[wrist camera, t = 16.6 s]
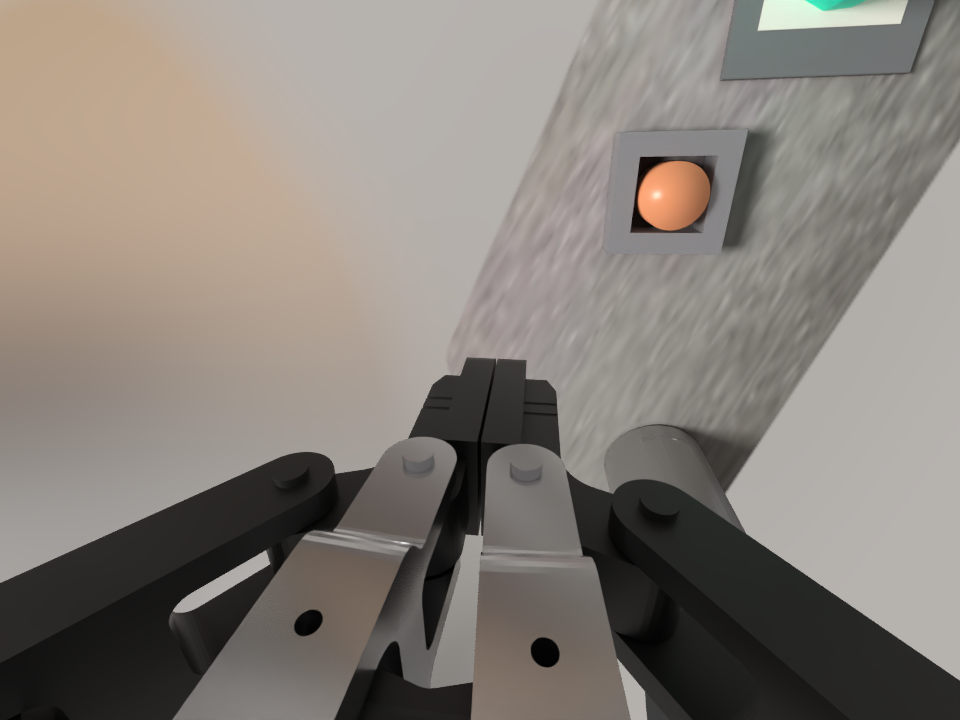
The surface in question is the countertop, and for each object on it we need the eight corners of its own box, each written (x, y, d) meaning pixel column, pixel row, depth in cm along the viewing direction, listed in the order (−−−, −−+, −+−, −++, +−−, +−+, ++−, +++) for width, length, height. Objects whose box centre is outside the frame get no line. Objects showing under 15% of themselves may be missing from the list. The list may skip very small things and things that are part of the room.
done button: (689, 224, 33) (702, 230, 30) (629, 223, 33) (637, 230, 30) (701, 159, 31) (716, 160, 28) (637, 160, 31) (646, 161, 29)
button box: (708, 247, 33) (720, 254, 31) (602, 246, 34) (606, 253, 32) (732, 130, 30) (748, 129, 28) (614, 133, 31) (619, 132, 29)
